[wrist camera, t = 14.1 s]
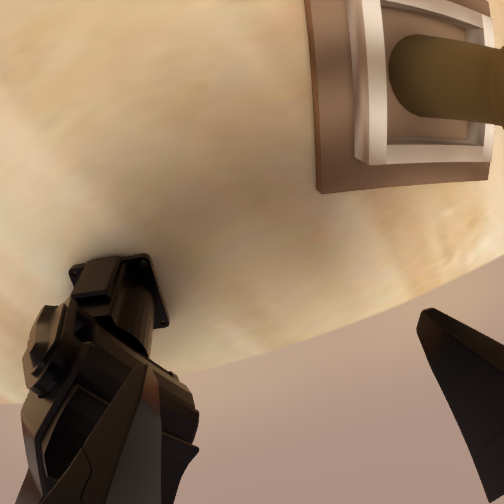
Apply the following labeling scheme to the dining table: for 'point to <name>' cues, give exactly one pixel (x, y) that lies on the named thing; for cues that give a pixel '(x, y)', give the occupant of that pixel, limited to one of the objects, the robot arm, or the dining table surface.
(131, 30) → the dining table surface
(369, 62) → the socket board
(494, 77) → the cork
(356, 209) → the dining table surface
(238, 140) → the dining table surface
